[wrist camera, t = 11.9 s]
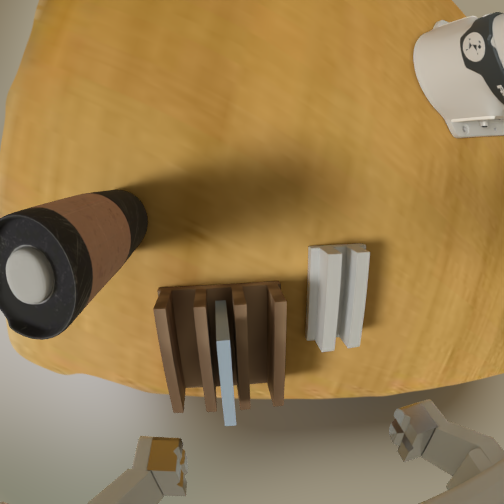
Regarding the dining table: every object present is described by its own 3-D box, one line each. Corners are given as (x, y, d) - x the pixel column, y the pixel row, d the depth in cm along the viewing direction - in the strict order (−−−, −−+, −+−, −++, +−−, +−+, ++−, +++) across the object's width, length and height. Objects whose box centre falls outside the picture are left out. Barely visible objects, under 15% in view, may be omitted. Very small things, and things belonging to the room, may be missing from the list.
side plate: (225, 300, 36) (229, 340, 27) (230, 377, 38) (236, 425, 30) (215, 300, 36) (216, 340, 27) (221, 377, 38) (225, 426, 30)
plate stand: (362, 243, 37) (377, 251, 33) (354, 330, 40) (366, 345, 36) (308, 246, 36) (319, 255, 32) (305, 337, 39) (313, 353, 35)
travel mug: (154, 191, 33) (80, 218, 13) (147, 258, 34) (83, 354, 15) (90, 184, 31) (-26, 206, 12) (86, 250, 33) (-14, 326, 14)
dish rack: (278, 280, 37) (290, 301, 31) (277, 376, 40) (286, 405, 35) (158, 287, 35) (149, 309, 30) (174, 383, 39) (170, 412, 33)
